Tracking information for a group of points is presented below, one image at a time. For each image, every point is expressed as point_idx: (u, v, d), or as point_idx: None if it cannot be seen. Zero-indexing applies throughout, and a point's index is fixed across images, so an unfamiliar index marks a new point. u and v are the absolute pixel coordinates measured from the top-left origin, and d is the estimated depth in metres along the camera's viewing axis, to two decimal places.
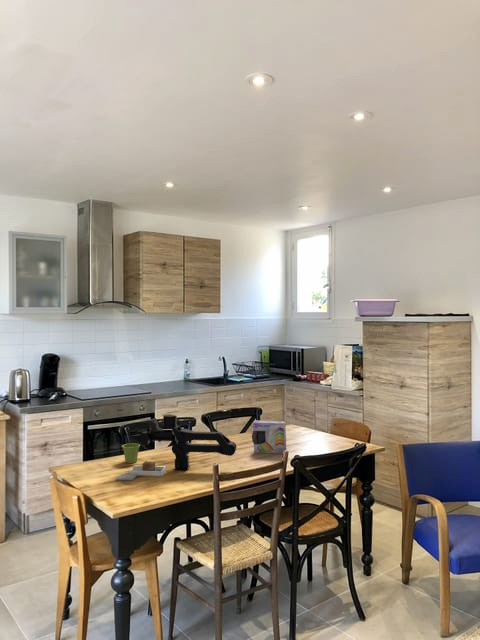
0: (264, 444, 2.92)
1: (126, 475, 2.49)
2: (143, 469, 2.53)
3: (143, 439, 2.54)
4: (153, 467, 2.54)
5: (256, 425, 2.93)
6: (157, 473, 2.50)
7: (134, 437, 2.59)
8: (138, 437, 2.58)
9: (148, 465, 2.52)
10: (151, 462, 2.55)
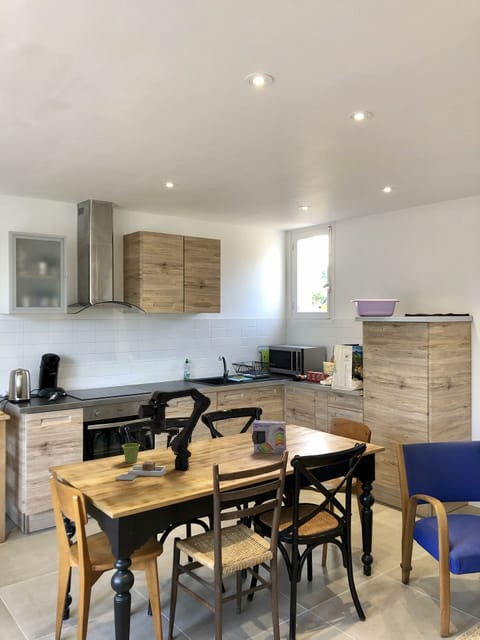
0: (264, 444, 2.92)
1: (126, 475, 2.49)
2: (143, 469, 2.53)
3: (178, 432, 2.53)
4: (153, 467, 2.54)
5: (256, 425, 2.93)
6: (157, 473, 2.50)
7: None
8: (169, 439, 2.54)
9: (148, 465, 2.52)
10: (151, 462, 2.55)
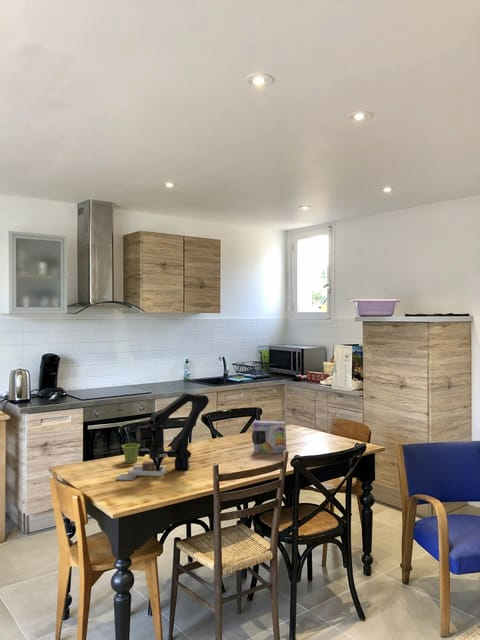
0: (264, 444, 2.92)
1: (126, 475, 2.49)
2: (143, 469, 2.53)
3: (176, 454, 2.53)
4: (153, 467, 2.54)
5: (256, 425, 2.93)
6: (157, 473, 2.50)
7: (159, 465, 2.54)
8: (160, 461, 2.54)
9: (148, 465, 2.52)
10: (151, 462, 2.55)
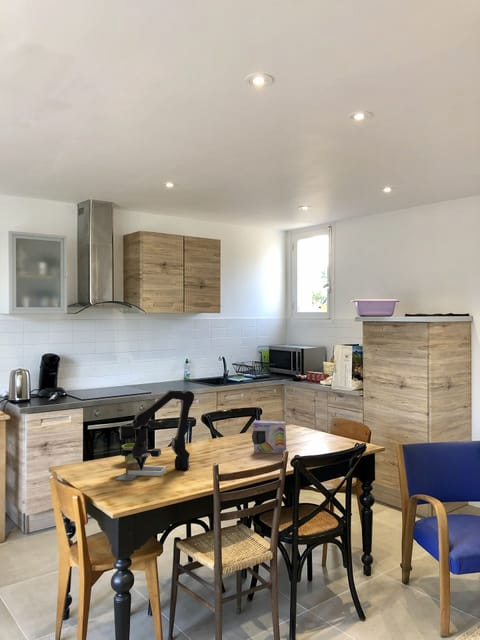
0: (264, 444, 2.92)
1: (126, 475, 2.49)
2: (127, 468, 2.53)
3: (159, 453, 2.54)
4: (137, 466, 2.55)
5: (256, 425, 2.93)
6: (157, 473, 2.50)
7: (143, 465, 2.55)
8: (144, 461, 2.55)
9: (131, 464, 2.53)
10: (135, 461, 2.56)
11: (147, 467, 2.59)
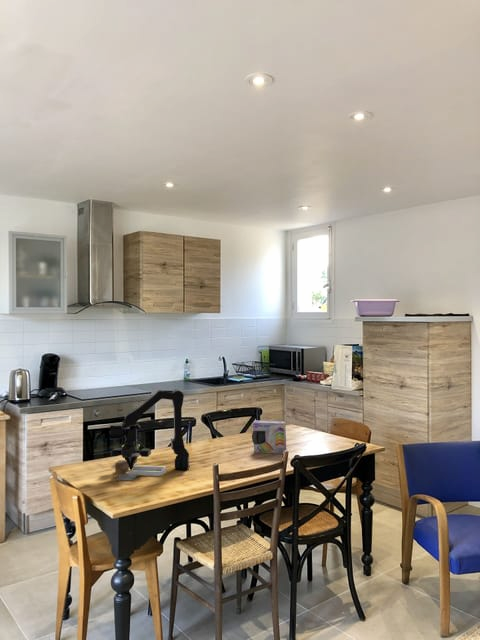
0: (264, 444, 2.92)
1: (126, 475, 2.49)
2: (116, 468, 2.54)
3: (149, 453, 2.55)
4: (126, 466, 2.56)
5: (256, 425, 2.93)
6: (157, 473, 2.50)
7: (133, 465, 2.56)
8: (133, 460, 2.56)
9: (121, 464, 2.54)
10: (124, 461, 2.57)
11: (147, 467, 2.59)
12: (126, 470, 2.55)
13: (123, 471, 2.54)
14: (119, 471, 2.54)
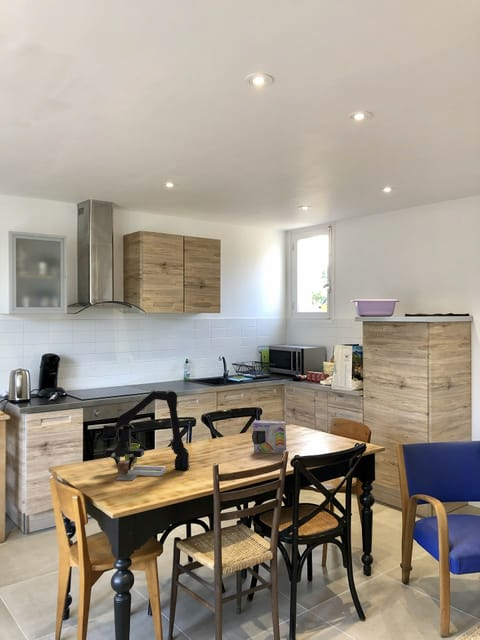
0: (264, 444, 2.92)
1: (126, 475, 2.49)
2: (118, 468, 2.54)
3: (142, 454, 2.55)
4: None
5: (256, 425, 2.93)
6: (157, 473, 2.50)
7: (131, 465, 2.56)
8: (131, 461, 2.56)
9: (123, 464, 2.54)
10: (127, 461, 2.57)
11: (147, 467, 2.59)
12: None
13: (125, 471, 2.54)
14: (121, 471, 2.54)
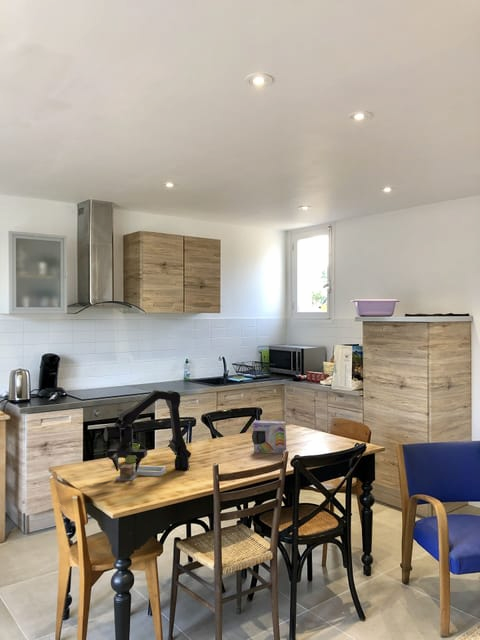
0: (264, 444, 2.92)
1: None
2: (121, 473, 2.44)
3: (145, 455, 2.45)
4: (131, 471, 2.46)
5: (256, 425, 2.93)
6: (157, 473, 2.50)
7: (137, 466, 2.46)
8: (138, 462, 2.46)
9: (126, 469, 2.44)
10: (129, 465, 2.47)
11: (147, 467, 2.59)
12: (131, 475, 2.45)
13: (128, 476, 2.44)
14: (124, 476, 2.44)
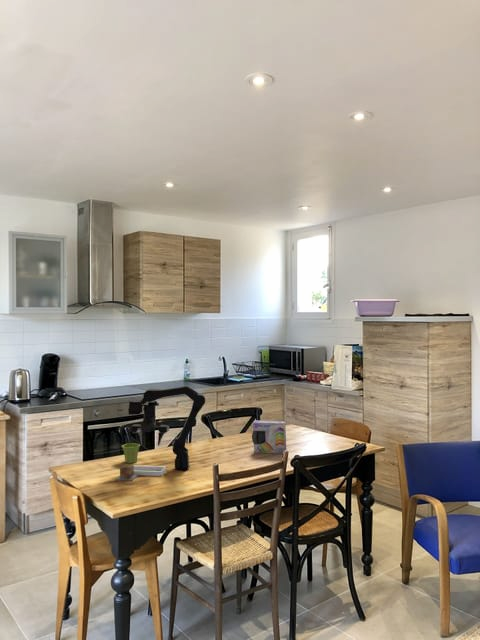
0: (264, 444, 2.92)
1: None
2: (121, 473, 2.44)
3: (167, 430, 2.59)
4: (131, 471, 2.46)
5: (256, 425, 2.93)
6: (157, 473, 2.50)
7: (160, 441, 2.60)
8: (160, 437, 2.60)
9: (126, 469, 2.44)
10: (129, 465, 2.47)
11: (147, 467, 2.59)
12: (131, 475, 2.45)
13: (128, 476, 2.44)
14: (124, 476, 2.44)
